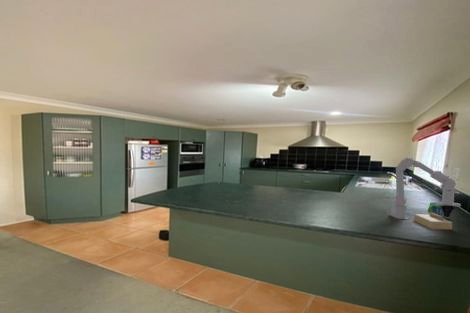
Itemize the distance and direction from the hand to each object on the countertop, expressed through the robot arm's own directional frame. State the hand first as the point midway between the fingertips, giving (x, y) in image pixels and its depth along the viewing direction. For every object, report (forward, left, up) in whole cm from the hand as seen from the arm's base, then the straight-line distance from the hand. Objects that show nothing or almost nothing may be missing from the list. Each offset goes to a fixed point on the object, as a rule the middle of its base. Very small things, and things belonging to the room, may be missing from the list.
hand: (446, 216), depth 153 cm
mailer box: (0, -9, -6) cm, 11 cm away
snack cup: (-18, +9, -6) cm, 21 cm away
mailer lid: (0, -9, -2) cm, 9 cm away
